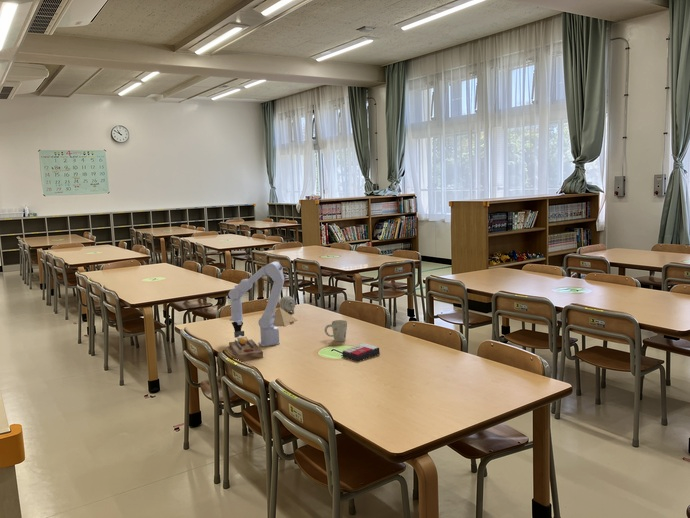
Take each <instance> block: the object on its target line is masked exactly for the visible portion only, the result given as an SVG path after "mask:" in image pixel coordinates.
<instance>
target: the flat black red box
mask: <svg viewBox="0 0 690 518" xmlns="http://www.w3.org/2000/svg"><path fill="white" fill-rule="evenodd" d="M341 354H342V355H341V356H342V358H345V359H348V358H349V359H348V360H351V359H352V361H355V362H360V360H361V361H363V359H364V360H366V358H367V359H369V357H370V358H371V357H376V356H378V355H377V354H379V355H380V347H378V346H376V345H372V344H367V343H361V344H357V345H354V346H351V347H348V348H346V349H343V350H342V352H341ZM375 355H376V356H375Z"/></svg>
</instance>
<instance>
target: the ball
mask: <svg viewBox="0 0 690 518" xmlns="http://www.w3.org/2000/svg"><path fill="white" fill-rule="evenodd" d="M246 338H247V337H246ZM246 338H241V339H240V343H241V344H242V345H244V344H246V343H247V339H248V338H247V339H246Z"/></svg>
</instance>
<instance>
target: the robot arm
mask: <svg viewBox="0 0 690 518" xmlns="http://www.w3.org/2000/svg"><path fill="white" fill-rule="evenodd" d="M283 269H284V268H283V266H282V265H281V263H280V262H279V261H275V260H274V261H272V262H270V263H267V264H266V265H264V266H262V267H260V268H259V269H258V270H257V271H256V272H255V273H253V274H252V276H250V277H249V278H244V279H241V280H240V282H239V283H238V284H236V285H234V288H231V289H230V290H229V291H228V297H229V299H230V314H231V318H229V320H228V321H230V322H231V325H232V327H233V331H234V332H236V331H242V328H243V325H244V322H243V320H244V318H243V306H242V305H243V304H242V296H244V295H245V294H246V293H247V292H248V291H249V290H251V289H252V288H253V284H254V283H255V282H256V281H258V280H259V279H261V278H262V277H263V276H268V277H269V278H271V280H272V281H273V285H272V286H271V291H270V294H269V297H268V300H267V303H266V306H265V309H264V311H263V312H262V315H261V317H260V318H259V320H258V325H259V328H260V329H259V331H260V332H259V333H260V341H258V344H259V345H260V346H262V347H268V346H275V345H280V330H279V326H274V325H273V323H274V321H275V311H276V310H277V309H276V308H277V306H278V302H279V299H280V296H281V293H282V290H283V286H284V283H285V275H284V270H283Z"/></svg>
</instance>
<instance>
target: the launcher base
mask: <svg viewBox="0 0 690 518" xmlns="http://www.w3.org/2000/svg"><path fill="white" fill-rule="evenodd" d="M246 339H247V343H246V344H244V345H242V344H241V343H238V341H237V340H236V339H234V341H230V342H229V343H228V344H229V345H228V346H229V350H230V351H231V352H232V354H233V356H234V357H235V358H236V359H239V360H242V361H249V360H250V361H251V360H255V359H262V358H264V353H263V352H264V351H263V350H262V349H261V347H259V346H258V344H257V343H256V342H255V341H254V340H253V339H248V338H247V337H246ZM242 361H241V362H242Z"/></svg>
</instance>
